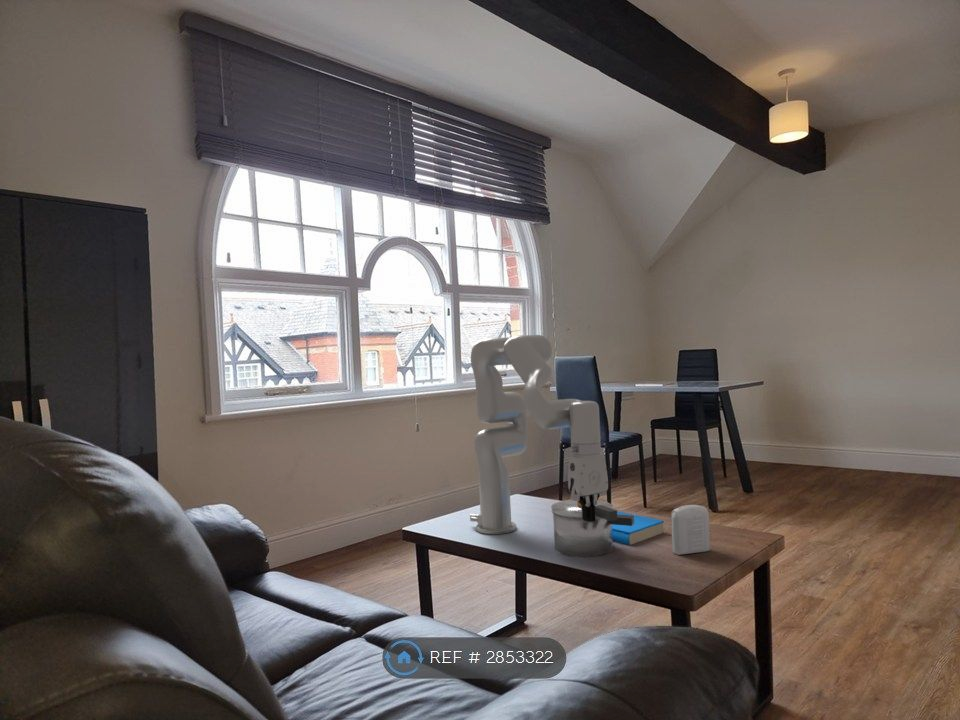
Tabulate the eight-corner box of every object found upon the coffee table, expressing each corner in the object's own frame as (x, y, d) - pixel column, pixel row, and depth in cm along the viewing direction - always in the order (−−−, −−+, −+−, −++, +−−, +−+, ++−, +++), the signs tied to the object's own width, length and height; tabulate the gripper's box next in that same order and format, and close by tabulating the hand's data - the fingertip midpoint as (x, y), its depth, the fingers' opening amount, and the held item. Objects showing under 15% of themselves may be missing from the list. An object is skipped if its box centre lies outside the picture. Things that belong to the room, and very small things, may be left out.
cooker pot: (546, 553, 173) (545, 516, 173) (564, 537, 188) (563, 503, 188) (627, 561, 164) (626, 522, 164) (640, 543, 178) (638, 508, 178)
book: (597, 507, 207) (664, 519, 188) (598, 520, 207) (665, 533, 188) (561, 517, 196) (628, 531, 177) (562, 531, 196) (629, 547, 177)
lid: (540, 508, 181) (540, 498, 181) (590, 500, 188) (589, 490, 188) (586, 527, 160) (585, 515, 160) (639, 517, 167) (639, 506, 167)
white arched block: (703, 547, 173) (701, 501, 173) (712, 551, 169) (711, 505, 169) (669, 551, 170) (667, 505, 170) (678, 556, 166) (676, 509, 166)
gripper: (573, 454, 156) (577, 529, 156) (617, 447, 164) (620, 518, 165) (553, 451, 162) (557, 523, 163) (597, 444, 171) (600, 512, 171)
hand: (589, 520), depth 164 cm, fingers closed
